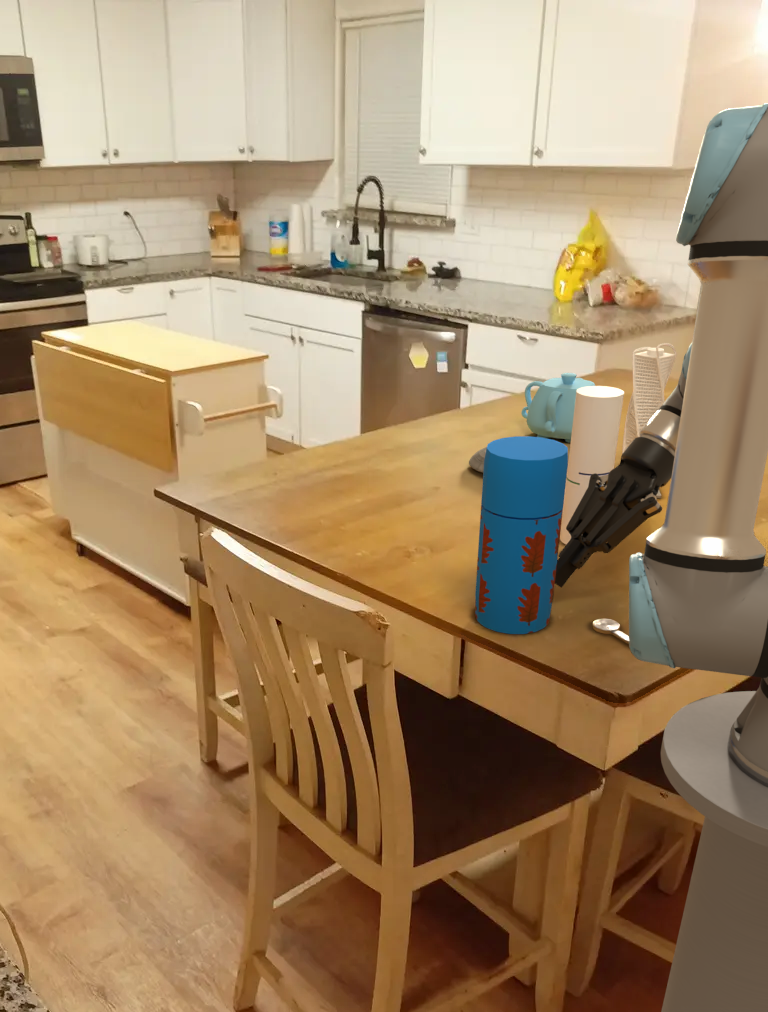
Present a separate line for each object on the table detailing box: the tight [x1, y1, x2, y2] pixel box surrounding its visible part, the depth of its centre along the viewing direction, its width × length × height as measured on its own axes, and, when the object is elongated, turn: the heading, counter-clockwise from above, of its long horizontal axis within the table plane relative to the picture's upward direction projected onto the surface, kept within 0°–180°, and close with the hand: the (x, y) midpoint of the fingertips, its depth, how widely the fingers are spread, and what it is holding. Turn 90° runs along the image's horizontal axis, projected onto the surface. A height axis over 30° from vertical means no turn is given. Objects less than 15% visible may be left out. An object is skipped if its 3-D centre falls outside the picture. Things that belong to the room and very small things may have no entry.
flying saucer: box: [468, 446, 487, 474], centre depth 191 cm, size 15×15×6 cm
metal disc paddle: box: [592, 618, 629, 645], centre depth 130 cm, size 10×4×1 cm, turn 25°
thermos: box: [474, 435, 569, 635], centre depth 130 cm, size 11×11×25 cm
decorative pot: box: [521, 372, 596, 444], centre depth 209 cm, size 16×16×14 cm
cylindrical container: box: [559, 385, 625, 545], centre depth 154 cm, size 7×7×25 cm
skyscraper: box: [621, 342, 678, 499], centre depth 172 cm, size 8×8×28 cm
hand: (553, 581), depth 137 cm, fingers closed
